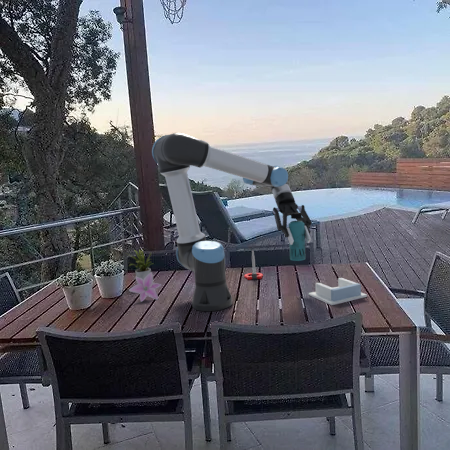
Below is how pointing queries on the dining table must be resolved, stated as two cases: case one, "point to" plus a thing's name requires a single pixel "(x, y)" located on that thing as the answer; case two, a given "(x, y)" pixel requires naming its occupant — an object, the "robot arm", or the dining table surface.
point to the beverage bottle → (297, 238)
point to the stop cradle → (338, 292)
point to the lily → (146, 287)
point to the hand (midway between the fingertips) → (300, 241)
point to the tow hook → (253, 271)
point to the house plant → (141, 265)
